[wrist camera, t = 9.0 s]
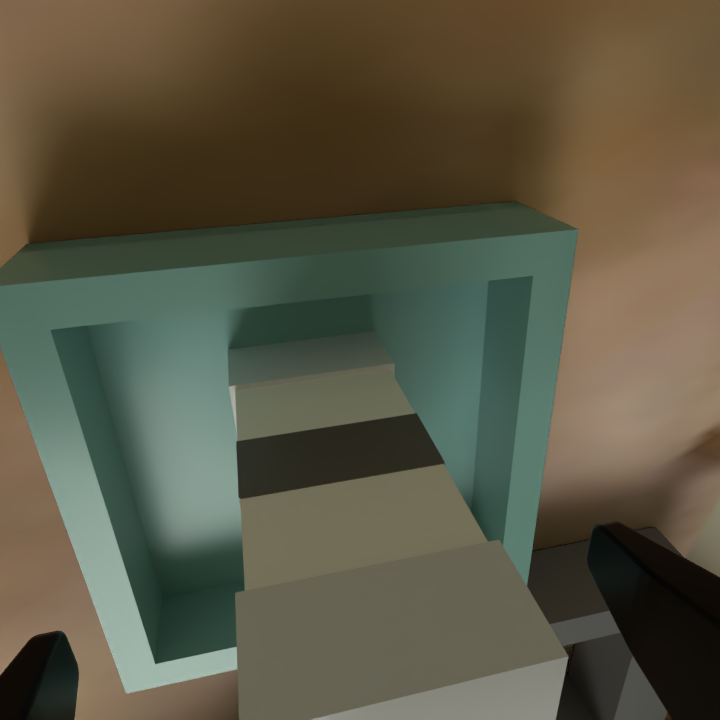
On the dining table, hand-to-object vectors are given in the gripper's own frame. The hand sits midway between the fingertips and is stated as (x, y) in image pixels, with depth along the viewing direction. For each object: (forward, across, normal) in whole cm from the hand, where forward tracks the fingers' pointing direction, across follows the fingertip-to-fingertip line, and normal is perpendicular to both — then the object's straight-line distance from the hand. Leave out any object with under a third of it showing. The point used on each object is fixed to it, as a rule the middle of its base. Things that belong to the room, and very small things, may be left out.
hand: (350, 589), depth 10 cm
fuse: (+4, 0, 0) cm, 4 cm away
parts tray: (+5, 0, 0) cm, 5 cm away
